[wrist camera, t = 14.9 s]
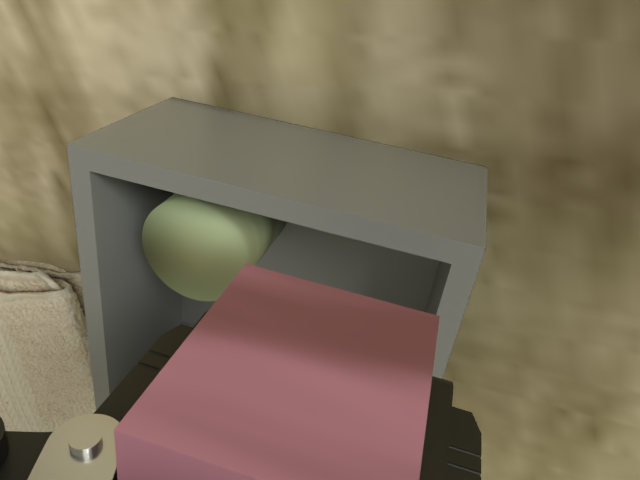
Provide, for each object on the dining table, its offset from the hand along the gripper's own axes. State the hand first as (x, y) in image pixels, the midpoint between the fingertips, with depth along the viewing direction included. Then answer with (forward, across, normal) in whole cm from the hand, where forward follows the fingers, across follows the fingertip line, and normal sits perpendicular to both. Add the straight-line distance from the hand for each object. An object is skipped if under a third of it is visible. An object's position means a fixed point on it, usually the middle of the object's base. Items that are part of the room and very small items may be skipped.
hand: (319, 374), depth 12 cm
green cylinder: (+12, +7, +2) cm, 14 cm away
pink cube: (0, 0, 0) cm, 0 cm away
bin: (+12, +4, +5) cm, 14 cm away
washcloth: (+13, +20, +19) cm, 30 cm away
